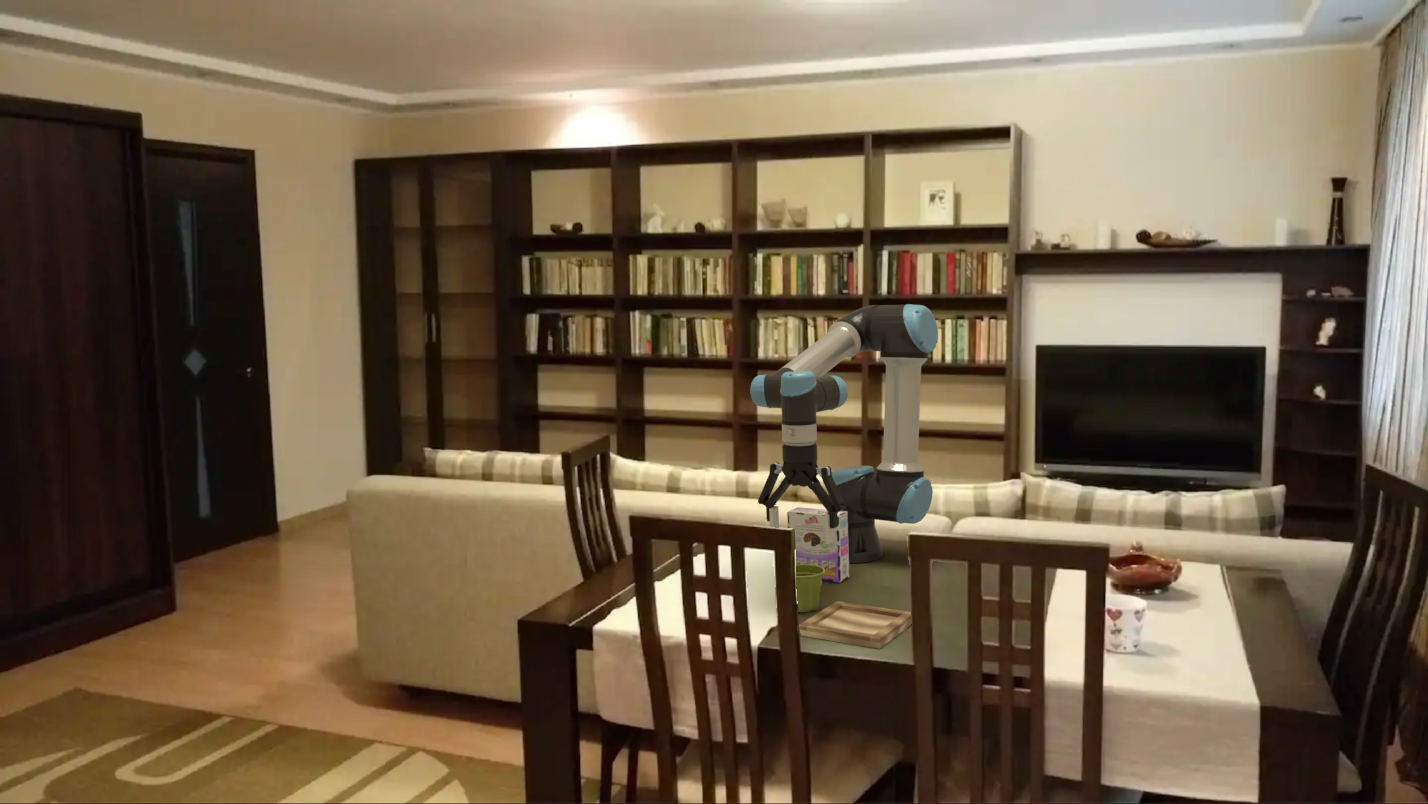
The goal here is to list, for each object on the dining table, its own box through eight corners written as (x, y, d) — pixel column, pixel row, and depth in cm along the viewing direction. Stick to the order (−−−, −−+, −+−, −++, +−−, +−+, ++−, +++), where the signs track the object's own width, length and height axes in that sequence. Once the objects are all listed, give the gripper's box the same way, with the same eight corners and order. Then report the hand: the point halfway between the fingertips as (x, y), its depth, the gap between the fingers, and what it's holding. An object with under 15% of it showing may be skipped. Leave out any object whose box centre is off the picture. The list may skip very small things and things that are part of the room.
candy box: (850, 577, 255) (849, 510, 253) (839, 583, 250) (838, 515, 248) (799, 570, 262) (797, 505, 260) (788, 576, 257) (786, 510, 255)
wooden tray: (837, 609, 231) (836, 601, 230) (914, 621, 221) (914, 612, 221) (797, 634, 215) (797, 625, 215) (879, 648, 206) (879, 638, 206)
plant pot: (823, 615, 227) (822, 576, 226) (780, 614, 229) (778, 575, 228) (827, 602, 236) (826, 564, 235) (785, 601, 238) (784, 563, 237)
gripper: (741, 442, 232) (744, 537, 234) (844, 448, 218) (846, 549, 221) (758, 437, 238) (761, 529, 240) (859, 443, 225) (861, 541, 227)
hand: (801, 539), depth 231 cm, fingers open, 13 cm apart
